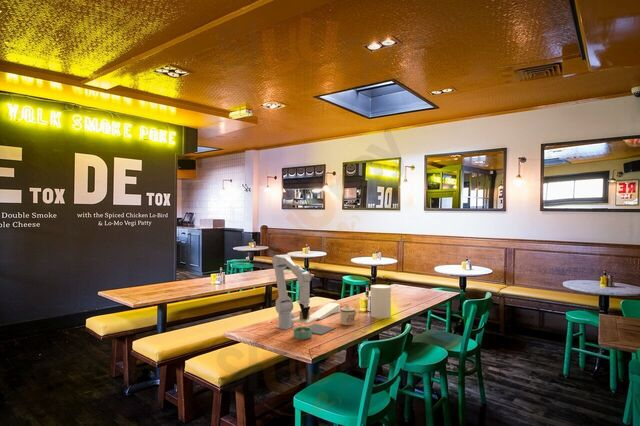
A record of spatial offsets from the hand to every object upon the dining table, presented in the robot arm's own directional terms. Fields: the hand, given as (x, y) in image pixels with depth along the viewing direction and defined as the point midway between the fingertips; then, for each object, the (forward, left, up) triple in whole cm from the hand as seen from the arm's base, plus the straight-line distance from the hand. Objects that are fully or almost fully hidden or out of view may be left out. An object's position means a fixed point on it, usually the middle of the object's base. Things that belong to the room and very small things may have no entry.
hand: (304, 317), depth 219 cm
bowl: (+2, 0, -10) cm, 11 cm away
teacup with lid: (-36, +8, -11) cm, 39 cm away
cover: (0, 0, -2) cm, 2 cm away
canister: (-63, +17, -11) cm, 66 cm away
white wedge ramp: (-45, -16, -11) cm, 49 cm away
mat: (-13, 0, -10) cm, 17 cm away
